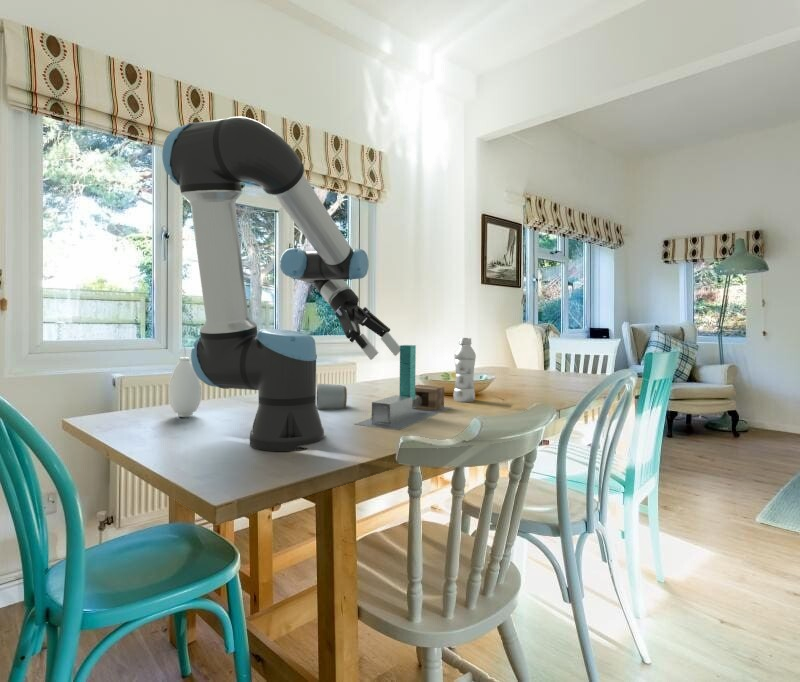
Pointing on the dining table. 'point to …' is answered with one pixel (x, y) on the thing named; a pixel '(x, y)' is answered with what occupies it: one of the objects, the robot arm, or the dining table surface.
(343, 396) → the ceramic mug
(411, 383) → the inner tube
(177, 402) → the white vase
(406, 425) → the base board
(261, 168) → the robot arm
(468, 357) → the plastic bottle
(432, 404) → the socket block
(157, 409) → the dining table surface
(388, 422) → the sleeve
